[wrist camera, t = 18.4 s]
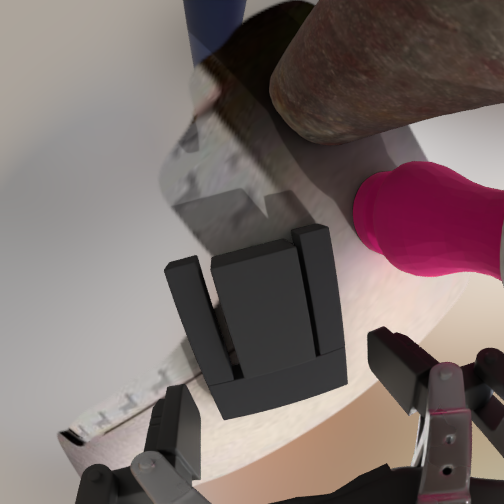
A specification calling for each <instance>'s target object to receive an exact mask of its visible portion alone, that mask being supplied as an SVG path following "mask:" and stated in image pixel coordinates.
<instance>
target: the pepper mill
mask: <svg viewBox="0 0 504 504" xmlns="http://www.w3.org/2000/svg"><path fill="white" fill-rule="evenodd" d="M353 221H354V226H355V229H356V232H357V234H358V236H359V238H360V239H361V241H362V242H363V243H364V244H365V245H366V246H367V247H368V248H369V249H371V250H373V251H375V252H377V253H380V254H382V255H384V256H385V257H386V258H387V259H388V261H389V262H390V263H391V264H392V265H394V266H395V267H396V268H398V269H399V270H401V271H404V272H406V273H410V274H413V275H416V276H424V277H437V276H442V275H447V274H452V273H457V272H477V273H482V274H486V275H491V276H493V277H495V278H497V279H499V280H501V281H502V283H503V286H504V190H498V189H494V188H489V187H484V186H482V185H479V184H477V183H474V182H472V181H470V180H468V179H466V178H465V177H463V176H462V175H460V174H458V173H456V172H455V171H453V170H451V169H450V168H448V167H445V166H442V165H439V164H436V163H433V162H421V161H412V162H408V163H405V164H402V165H400V166H399V167H397V168H396V169H394V170H393V171H386V172H378V173H376V174H373V175H372V176H370V177H369V178H367V179H366V180H365V181H364V182H363V184H362V185H361V187H360V188H359V190H358V192H357V194H356V197H355V200H354V205H353Z"/></svg>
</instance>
